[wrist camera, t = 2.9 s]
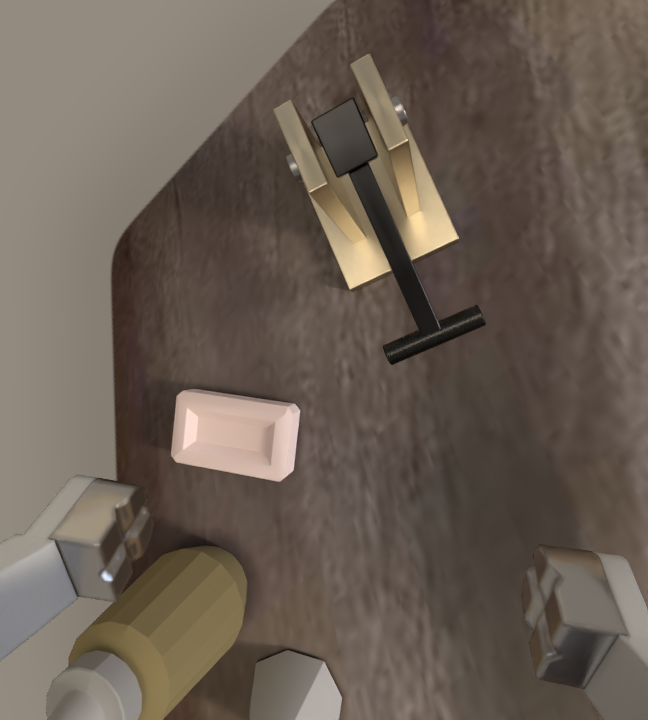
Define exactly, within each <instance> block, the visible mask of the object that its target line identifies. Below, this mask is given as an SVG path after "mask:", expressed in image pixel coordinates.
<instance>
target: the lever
mask: <svg viewBox="0 0 648 720" xmlns="http://www.w3.org/2000/svg"><path fill="white" fill-rule="evenodd" d="M311 123H312V125H313V127H314V130H315V132H316V134H317V136H318V138H319V140H320V143H321V145H322V147H323V149H324V151H325V153H326V156H327V158H328V160H329V162H330V164H331V166H332V169H333V171H334V173H335V175H336V177H337V178H342V177H344V176H346V175H347V174H349V177H350V179H351V181H352V183H353V185H354V188H355V190H356V192H357V194H358V196H359V199H360V201H361V203H362V205H363V207H364V210H365V212H366V214H367V216H368V218H369V221H370V223H371V225H372V227H373V229H374V232H375V234H376V236H377V238H378V240H379V243H380V245H381V247H382V249H383V251H384V254H385V256H386V258H387V260H388V262H389V265H390V267H391V269H392V271H393V274H394V276H395V278H396V280H397V282H398V285H399V287H400V289H401V291H402V293H403V296H404V298H405V300H406V302H407V304H408V307H409V309H410V311H411V313H412V315H413V318H414V320H415V322H416V324H417V326H418V329H419V330H417V331H415V332H413V333H411V334H408V335H406V336H404V337H401V338H399V339H397V340H395V341H392V342H390V343H388V344H385V345H383V349H384V352H385V355H386V357H387V359H388V361H389V363H390V364H391V365H393V364H395V363H398V362H400V361H402V360H405V359H407V358H410V357H412V356H414V355H417V354H419V353H421V352H424V351H426V350H428V349H431V348H433V347H435V346H438V345H440V344H442V343H445V342H447V341H450V340H452V339H454V338H457V337H459V336H461V335H464V334H466V333H468V332H471V331H473V330H475V329H478V328H480V327H482V326H485V325H486V323H485V320H484V317H483V315H482V313H481V311H480V309H479V307H478V306H477V305H475V306H472V307H470V308H468V309H465V310H463V311H461V312H459V313H456V314H454V315H452V316H449V317H447V318H445V319H443V320H440V321H438V320H437V317H436V315H435V313H434V311H433V308H432V306H431V304H430V301H429V299H428V297H427V295H426V292H425V290H424V288H423V285H422V283H421V281H420V279H419V276H418V274H417V272H416V270H415V267H414V265H413V263H412V260H411V258H410V256H409V254H408V251H407V249H406V247H405V245H404V242H403V240H402V238H401V235H400V233H399V231H398V229H397V226H396V224H395V222H394V219H393V217H392V215H391V213H390V210H389V208H388V206H387V204H386V201H385V199H384V197H383V194H382V192H381V190H380V188H379V185H378V183H377V181H376V178H375V176H374V174H373V172H372V169H371V167H370V165H369V163H370V162H372V161H374V160H376V159H377V158H378V153H377V150H376V148H375V146H374V143H373V141H372V139H371V136H370V134H369V132H368V129H367V127H366V125H365V123H364V120H363V118H362V116H361V113H360V111H359V109H358V106H357V104H356V102H355V99H354V98H350V99H348V100H347V101H345V102H343V103H341V104H340V105H338V106H336V107H334V108H333V109H331V110H329V111H327V112H326V113H324V114H322V115H320V116H319V117H317V118H315V119H313V120H312V121H311Z"/></svg>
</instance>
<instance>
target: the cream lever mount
mask: <svg viewBox="0 0 648 720" xmlns="http://www.w3.org/2000/svg"><path fill="white" fill-rule="evenodd" d="M350 68H351V71H352V74H353V77H354V80H355V83H356V86H357V89H358V92H359V95H360V98H361V101H362V104H363V107H364V110H365V113H366V116H367V119H368V122H366V123H365V125H366V127H367V129H368V132H369V134H370V136H371V139H372V141H373V143H374V146H375V148H376V150H377V153H378V158H377V159H376V160H374V161H372V162H370V163H369V165H370V167H371V169H372V172H373V174H374V176H375V178H376V181H377V183H378V185H379V188H380V190H381V192H382V194H383V197H384V199H385V201H386V204H387V206H388V208H389V210H390V213H391V215H392V217H393V219H394V222H395V224H396V226H397V229H398V231H399V233H400V235H401V238H402V240H403V242H404V245H405V247H406V249H407V251H408V254H409V256H410V258H411V260H412V263H415V262H417V261H419V260H422V259H424V258H426V257H428V256H430V255H432V254H434V253H436V252H438V251H441V250H443V249H445V248H447V247H449V246H451V245H453V244H455V243H458V241H459V237H458V235H457V232H456V230H455V228H454V226H453V224H452V221H451V219H450V217H449V215H448V213H447V210H446V208H445V206H444V204H443V201H442V199H441V197H440V195H439V193H438V190H437V188H436V186H435V184H434V182H433V179H432V177H431V175H430V173H429V171H428V168H427V166H426V164H425V162H424V160H423V157H422V155H421V153H420V151H419V148H418V146H417V144H416V142H415V140H414V137H413V135H412V133H411V131H410V129H409V126H408V118H407V115H406V112H405V109H404V107H403V104H402V102H401V100H400V98H399V96H398V95H395V96H393V97H391V98H390V97H389V95H388V93H387V90H386V88H385V86H384V84H383V82H382V79H381V77H380V75H379V73H378V70H377V68H376V66H375V64H374V62H373V59H372V57H371V55H370V54H367V55H366V56H364V57H362V58H360V59H359V60H357V61H355V62H354V63H352V64H351V65H350ZM273 112H274V115H275V117H276V119H277V122H278V124H279V126H280V129H281V131H282V133H283V135H284V138H285V140H286V142H287V145H288V147H289V149H290V152H291V154H289V155H288V156H286V161H287V163H288V166H289V168H290V170H291V172H292V174H293V176H294V178H295V179H296V181H297V182H298V183H300V182H302V181H303V184H304V186H305V188H306V191H307V193H308V195H309V198H310V200H311V202H312V205H313V207H314V209H315V211H316V214H317V216H318V218H319V221H320V223H321V225H322V228H323V230H324V232H325V235H326V237H327V239H328V242H329V244H330V246H331V248H332V251H333V253H334V255H335V258H336V260H337V262H338V265H339V267H340V269H341V272H342V274H343V276H344V278H345V281H346V283H347V285H348V288H349V290H351V291H352V292H354V291H356V290H358V289H360V288H362V287H364V286H366V285H368V284H371V283H373V282H375V281H377V280H379V279H381V278H383V277H385V276H388V275H390V274H392V273H393V271H392V269H391V267H390V265H389V262H388V260H387V258H386V256H385V254H384V251H383V249H382V247H381V245H380V243H379V240H378V238H377V236H376V234H375V232H374V229H373V227H372V225H371V223H370V221H369V218H368V216H367V214H366V212H365V210H364V207H363V205H362V203H361V201H360V199H359V196H358V194H357V192H356V190H355V188H354V185H353V183H352V181H351V179H350V177H349V174H347V175H346V176H344V177H342V178H337V177H336V175H335V173H334V171H333V169H332V166H331V164H330V162H329V160H328V158H327V156H326V153H325V151H324V149H323V147H320V146H319V144H318V142H317V141H316V139H315V137H314V136H313V134H312V133H311V131H310V129H309V128H308V126H307V124H306V123H305V121H304V120H303V118H302V116H301V115H300V113H299V112H298V110H297V108H296V107H295V105H294V103H293V102H292V101H291V100H289V101H287V102H286V103H284V104H282V105H281V106H279V107H277V108H275V109H274V110H273Z"/></svg>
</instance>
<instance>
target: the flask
mask: <svg viewBox="0 0 648 720" xmlns="http://www.w3.org/2000/svg"><path fill="white" fill-rule="evenodd" d="M341 702H342V697H341V695H340V693H339V691H338V689H337V687H336V685H335V682H334V680H333V678H332V676H331V674H330V672H329V670H328V668H327V666H326V664H325V662H324V661H321V660H318V659H315V658H311V657H308V656H305V655H302V654H298V653H295V652H292V651H288V650H287V651H284V652H282V653H279V654H277V655H274V656H272V657H269V658H267V659H264V660H262V661H259V662H257V663H256V666H255V673H254V680H253V687H252V694H251V702H250V714H249V720H339V715H340V709H341Z"/></svg>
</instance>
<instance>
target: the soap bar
mask: <svg viewBox="0 0 648 720" xmlns="http://www.w3.org/2000/svg"><path fill="white" fill-rule="evenodd" d="M299 417H300V410H299V408H298V407H297V406H296V404H293V403H286V402H280V401H273V400H266V399H259V398H253V397H246V396H239V395H233V394H226V393H219V392H213V391H206V390H199V389H190V390H184V391H182V392H181V393H180V394H178V395H177V398H176V409H175V419H174V429H173V440H172V450H171V456H172V457H173V459H174V460H175V462H178V463H183V464H189V465H194V466H199V467H204V468H210V469H215V470H220V471H226V472H231V473H236V474H242V475H247V476H252V477H257V478H263V479H268V480H273V481H279V482H280V481H281V480H283V479H284V478H285V477H286V476H288V475H289V474H290V473H291V472H292V471H294V462H295V453H296V444H297V435H298V426H299Z"/></svg>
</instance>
